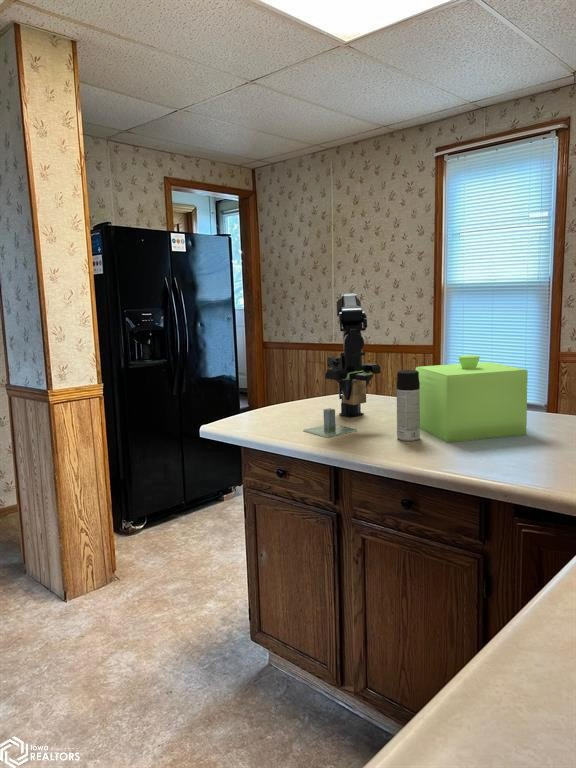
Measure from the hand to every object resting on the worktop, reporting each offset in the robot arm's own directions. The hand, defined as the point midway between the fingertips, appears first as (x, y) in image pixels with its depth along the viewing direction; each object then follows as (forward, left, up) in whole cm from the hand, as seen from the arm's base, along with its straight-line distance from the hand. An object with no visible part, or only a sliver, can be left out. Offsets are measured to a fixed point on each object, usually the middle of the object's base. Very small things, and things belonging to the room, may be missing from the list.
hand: (354, 398), depth 180 cm
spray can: (-5, +18, -11) cm, 21 cm away
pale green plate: (+5, -6, -10) cm, 13 cm away
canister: (-25, +24, -11) cm, 36 cm away
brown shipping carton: (0, 0, -1) cm, 1 cm away
